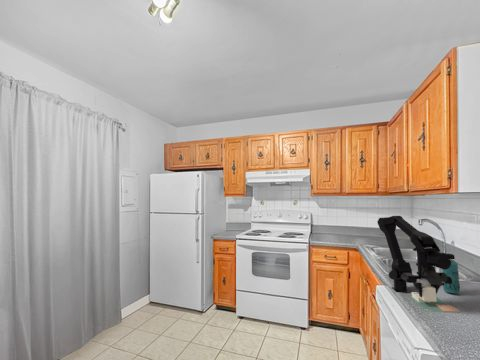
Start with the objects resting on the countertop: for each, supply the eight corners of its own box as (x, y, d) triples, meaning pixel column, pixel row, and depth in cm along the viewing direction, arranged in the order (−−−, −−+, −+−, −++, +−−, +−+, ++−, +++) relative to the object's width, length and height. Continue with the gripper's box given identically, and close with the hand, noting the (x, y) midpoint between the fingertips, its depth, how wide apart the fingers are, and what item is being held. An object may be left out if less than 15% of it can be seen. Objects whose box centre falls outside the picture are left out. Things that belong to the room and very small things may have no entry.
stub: (419, 297, 113) (418, 284, 113) (430, 297, 112) (429, 284, 112) (424, 301, 109) (423, 287, 109) (436, 301, 108) (435, 287, 108)
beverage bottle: (440, 292, 123) (437, 253, 124) (448, 290, 125) (445, 251, 127) (455, 297, 117) (452, 256, 118) (463, 295, 119) (460, 254, 120)
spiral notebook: (411, 296, 119) (411, 292, 119) (422, 297, 118) (422, 292, 118) (418, 302, 113) (418, 297, 113) (430, 302, 112) (430, 297, 112)
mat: (407, 296, 120) (407, 295, 120) (436, 297, 118) (436, 296, 118) (427, 312, 104) (426, 311, 104) (460, 313, 102) (460, 312, 102)
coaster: (435, 305, 110) (435, 304, 110) (449, 305, 109) (449, 304, 109) (444, 311, 104) (444, 310, 104) (459, 312, 103) (459, 311, 103)
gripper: (412, 267, 105) (414, 304, 104) (460, 268, 102) (463, 306, 101) (399, 260, 116) (401, 293, 115) (442, 261, 113) (445, 294, 112)
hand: (427, 297), depth 110 cm, fingers closed on stub, 5 cm apart
